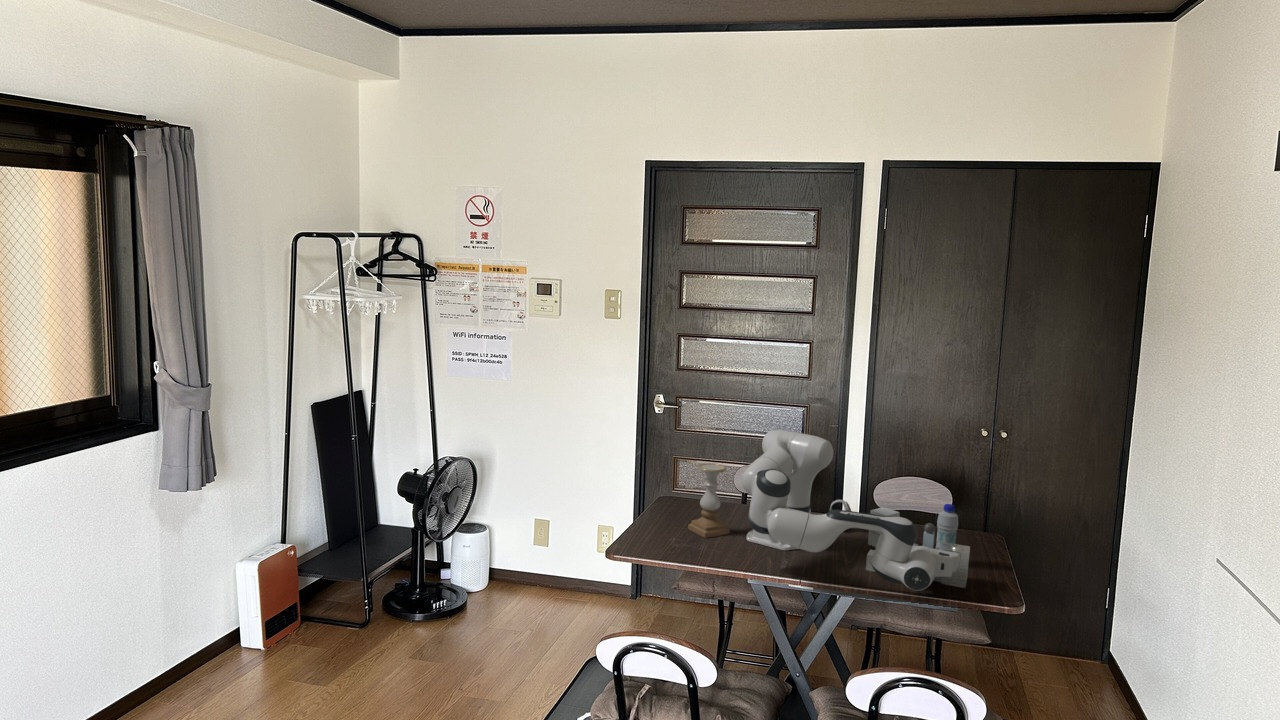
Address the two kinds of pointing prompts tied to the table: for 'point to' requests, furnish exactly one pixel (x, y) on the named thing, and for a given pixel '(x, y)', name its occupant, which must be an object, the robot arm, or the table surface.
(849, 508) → the watch
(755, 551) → the table surface
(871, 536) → the supplement box
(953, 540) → the bottle
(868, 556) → the grey slide rail
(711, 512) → the candle holder
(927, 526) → the ball-topped pillar
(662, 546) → the table surface
